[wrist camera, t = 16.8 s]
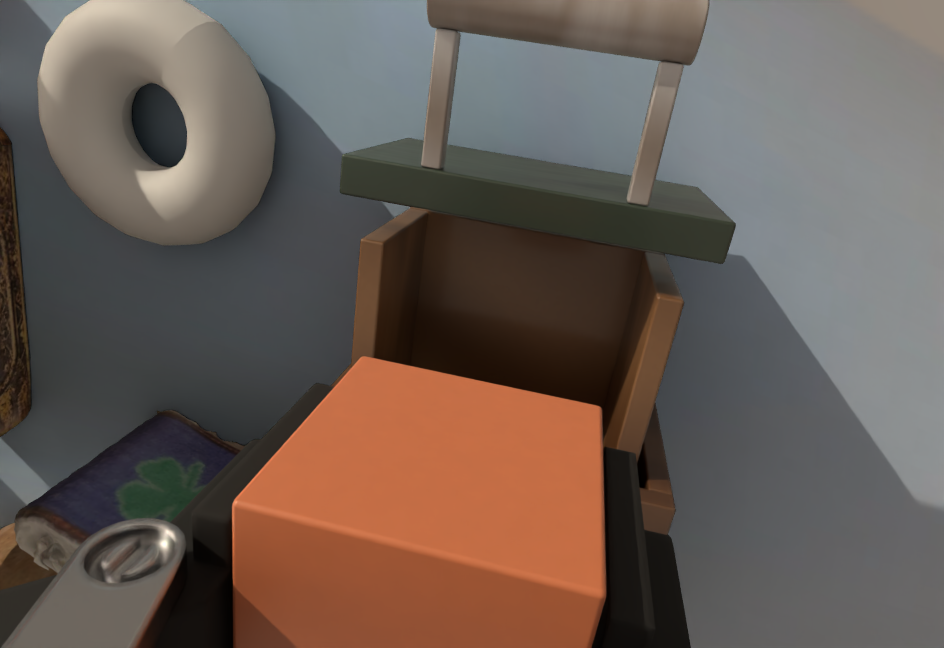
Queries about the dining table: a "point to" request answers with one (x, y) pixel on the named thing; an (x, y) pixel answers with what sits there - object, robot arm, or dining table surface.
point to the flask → (124, 486)
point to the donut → (111, 131)
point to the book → (11, 304)
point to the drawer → (537, 229)
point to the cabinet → (646, 477)
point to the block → (425, 520)
